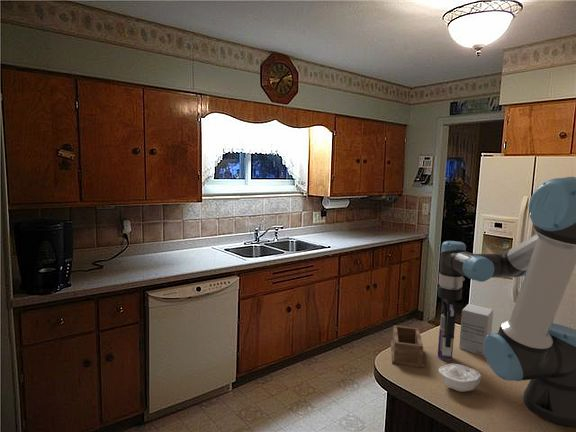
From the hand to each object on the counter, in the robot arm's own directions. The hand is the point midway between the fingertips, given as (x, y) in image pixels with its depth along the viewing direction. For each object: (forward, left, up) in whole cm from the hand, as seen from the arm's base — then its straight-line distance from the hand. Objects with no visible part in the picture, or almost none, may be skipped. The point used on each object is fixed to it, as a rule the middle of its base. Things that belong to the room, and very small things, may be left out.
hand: (445, 351), depth 132 cm
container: (0, 0, -2) cm, 2 cm away
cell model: (-19, -1, -3) cm, 19 cm away
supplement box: (+11, -12, -3) cm, 16 cm away
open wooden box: (-1, +13, -2) cm, 13 cm away
